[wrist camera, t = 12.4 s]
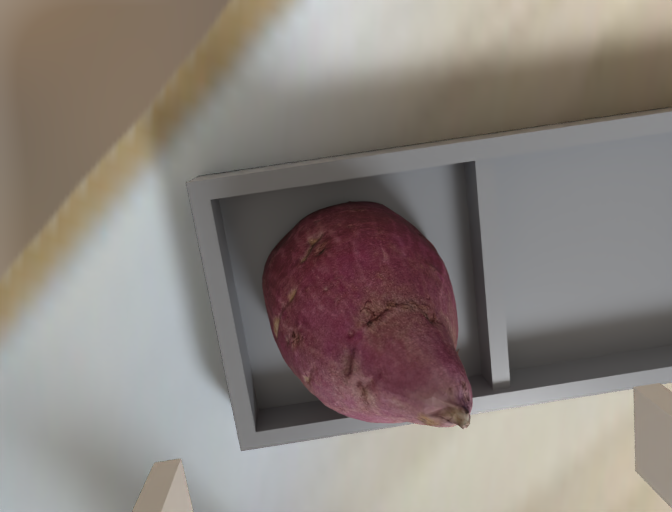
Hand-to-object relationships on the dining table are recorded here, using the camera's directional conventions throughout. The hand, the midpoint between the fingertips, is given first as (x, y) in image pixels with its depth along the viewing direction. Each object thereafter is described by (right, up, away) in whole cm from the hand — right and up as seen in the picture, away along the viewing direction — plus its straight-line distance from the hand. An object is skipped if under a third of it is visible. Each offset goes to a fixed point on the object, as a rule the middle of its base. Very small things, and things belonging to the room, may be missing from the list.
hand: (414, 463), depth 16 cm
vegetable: (-1, +4, +16) cm, 17 cm away
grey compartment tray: (+6, +5, +17) cm, 19 cm away
